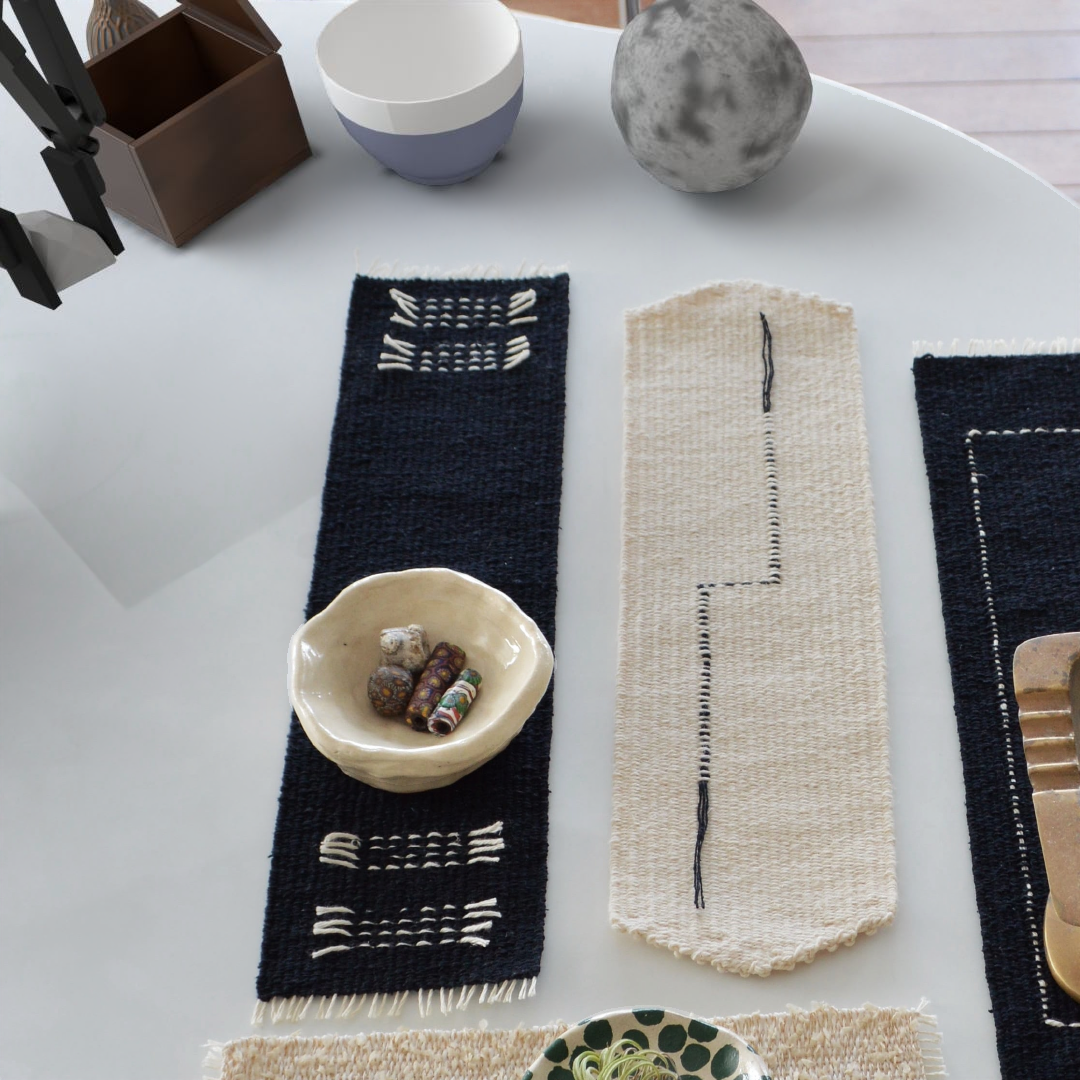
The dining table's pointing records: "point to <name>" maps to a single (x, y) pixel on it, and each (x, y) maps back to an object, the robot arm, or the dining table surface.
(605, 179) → the dining table surface
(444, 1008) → the dining table surface
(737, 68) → the stone
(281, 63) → the chest
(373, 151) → the bowl
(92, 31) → the vase
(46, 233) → the grey rounded piece
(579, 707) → the dining table surface
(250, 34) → the lid
